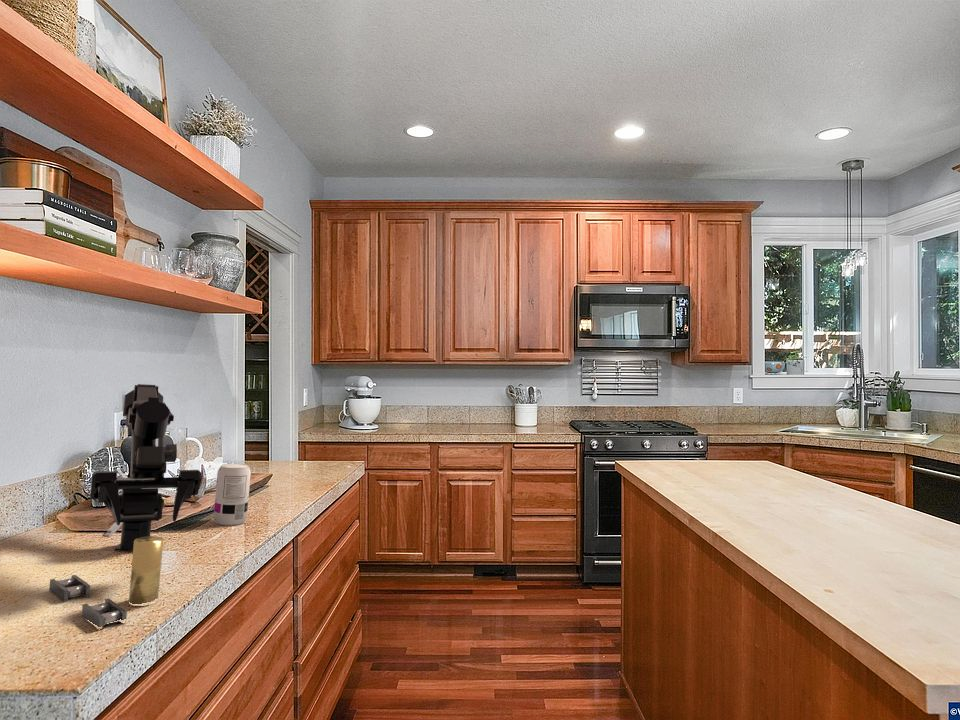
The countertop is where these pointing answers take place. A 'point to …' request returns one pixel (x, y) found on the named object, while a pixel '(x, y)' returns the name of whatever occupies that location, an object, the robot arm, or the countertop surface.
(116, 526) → the caliper
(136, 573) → the link pin
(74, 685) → the countertop surface
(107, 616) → the chain end
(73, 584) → the chain end
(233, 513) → the supplement can
